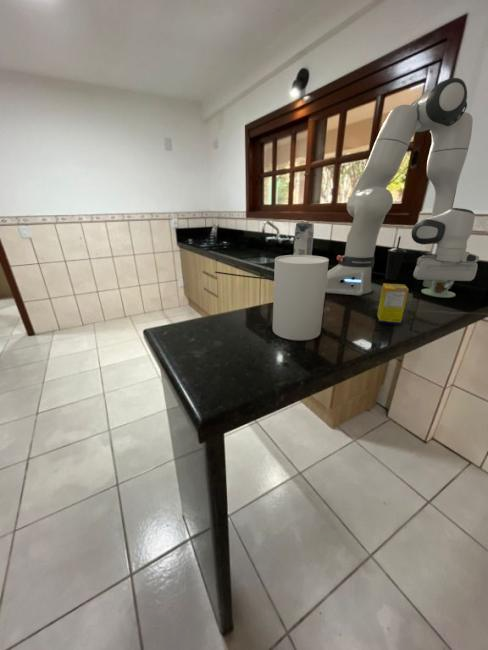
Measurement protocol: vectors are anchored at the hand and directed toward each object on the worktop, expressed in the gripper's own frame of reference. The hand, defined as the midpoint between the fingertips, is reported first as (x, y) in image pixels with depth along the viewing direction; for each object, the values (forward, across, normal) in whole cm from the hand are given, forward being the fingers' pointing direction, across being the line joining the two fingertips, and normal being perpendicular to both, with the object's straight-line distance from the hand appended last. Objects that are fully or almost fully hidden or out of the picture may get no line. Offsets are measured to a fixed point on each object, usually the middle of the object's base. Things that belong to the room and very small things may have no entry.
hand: (438, 291), depth 104 cm
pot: (+2, +5, +12) cm, 13 cm away
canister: (+2, -56, -42) cm, 70 cm away
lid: (+1, 0, 0) cm, 1 cm away
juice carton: (+2, -52, +37) cm, 64 cm away
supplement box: (+2, -28, -31) cm, 42 cm away
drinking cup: (+2, -9, +26) cm, 28 cm away
